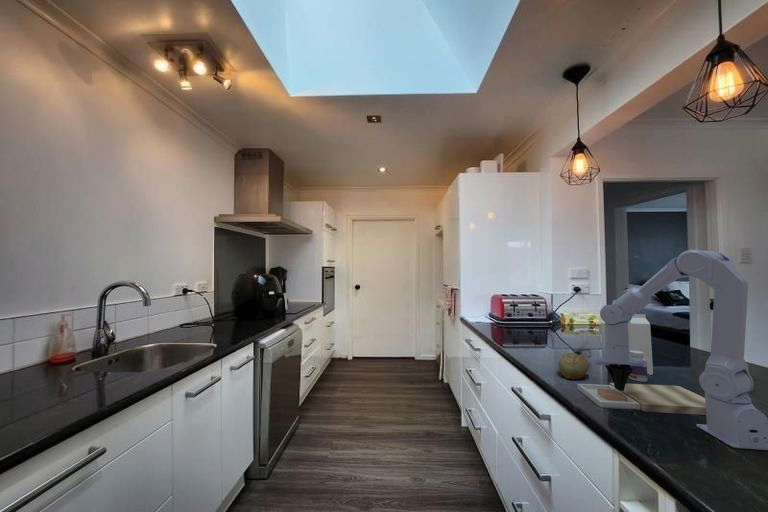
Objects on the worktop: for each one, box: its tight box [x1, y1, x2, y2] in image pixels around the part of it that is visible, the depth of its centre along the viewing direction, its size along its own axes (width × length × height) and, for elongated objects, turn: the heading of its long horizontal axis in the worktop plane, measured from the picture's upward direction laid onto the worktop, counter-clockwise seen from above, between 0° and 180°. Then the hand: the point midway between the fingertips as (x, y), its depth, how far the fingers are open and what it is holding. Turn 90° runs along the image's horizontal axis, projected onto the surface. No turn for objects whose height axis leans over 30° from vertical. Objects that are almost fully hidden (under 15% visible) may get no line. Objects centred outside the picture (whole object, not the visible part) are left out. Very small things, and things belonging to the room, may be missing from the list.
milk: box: [628, 313, 654, 376], centre depth 115 cm, size 6×6×22 cm
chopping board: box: [609, 382, 706, 416], centre depth 89 cm, size 20×16×2 cm
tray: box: [576, 383, 641, 411], centre depth 91 cm, size 10×14×2 cm
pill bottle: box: [628, 351, 649, 383], centre depth 107 cm, size 5×5×10 cm
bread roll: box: [558, 352, 590, 380], centre depth 112 cm, size 10×15×8 cm, turn 142°
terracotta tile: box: [597, 388, 625, 401], centre depth 91 cm, size 5×5×2 cm
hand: (619, 389), depth 91 cm, fingers closed
